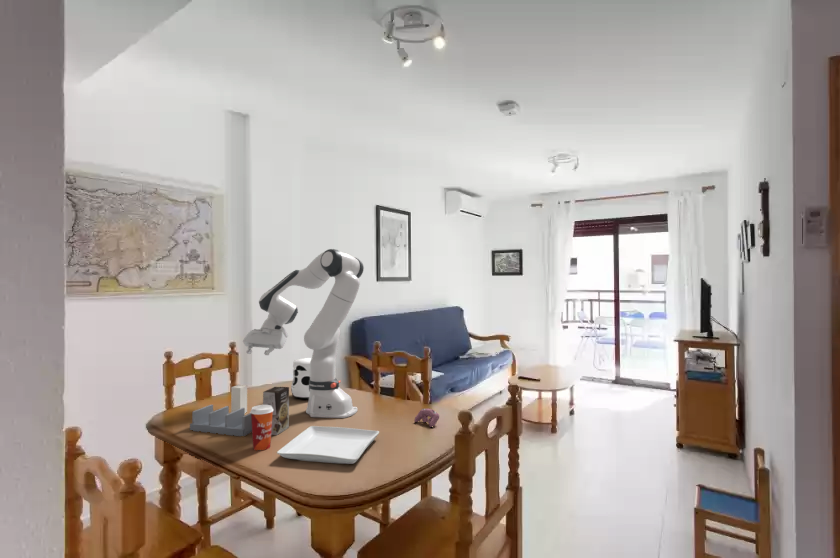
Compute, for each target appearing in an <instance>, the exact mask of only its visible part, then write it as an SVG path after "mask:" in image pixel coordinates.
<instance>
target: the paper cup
mask: <svg viewBox="0 0 840 558" xmlns="http://www.w3.org/2000/svg"><path fill="white" fill-rule="evenodd" d="M273 411H274V410H273V408H272V406H271V405H263V404H258V405H254V406H252V407H251V410H250V411H249V413H251V419H252V432H251V436H252V437H251V438H252V449H253V450H254V451H257V450H261V451H265V450H269V449H270V448H271V441H272V435H271V430H272V414H273Z"/></svg>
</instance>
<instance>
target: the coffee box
mask: <svg viewBox="0 0 840 558" xmlns="http://www.w3.org/2000/svg"><path fill="white" fill-rule="evenodd" d="M262 394H263V395H262V405H271V406H272V408H273V410H274V411H273V414H272V430H271V436H277V435H279V434H281V433H283V432H284V431H286V430H287V429H289V427H290V426H289V425H290V424H289V423H290V387H289V386H274V387H271V388H269V389H267V390H264V391H262Z"/></svg>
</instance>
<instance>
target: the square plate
mask: <svg viewBox="0 0 840 558" xmlns="http://www.w3.org/2000/svg"><path fill="white" fill-rule="evenodd" d="M379 433H380V431H379V430H371V429H362V428H361V429H360V428H352V427H344V426H342V427H341V426H340V427H339V426H319V425H311V426H308V428H306V429H304V430H303V431H302V432H300V433H299V434H298V435H297V436H295V437H294V438H293V439H291V440H290V441H289V442H287V443H286V444H285V445H284V446H282V447H281V448H280V449H279V450H277V452H276V454H277V455H279V456H281V457H283V458H285V459H288V460H289V459H291V460H298V461H305V462H317V463H329V464H337V465H338V464H340V465H341V464H347V465H349V464H351V465H352V464H355V463H356V462H357V461H358V460H359V459H360V457H361V456H362V454H363V453H364V452H365V450H366V449H367V448H368V447H369V446H370V445H371V444H372V443H373V441H374V440H375V439H376V438H377V437H378V436H379Z"/></svg>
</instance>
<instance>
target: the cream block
mask: <svg viewBox="0 0 840 558" xmlns="http://www.w3.org/2000/svg"><path fill="white" fill-rule="evenodd" d="M230 389H231V393H230V394H231V397H230V398H231V400H230V401H231V403H230V404H231V405H230V406H231V407H230V408H231V409H230V411H231V412H233V411H236V410H238V409H240V408H245V413H246V412H247V413H248V385H245V384H237V385H234V386H231V388H230ZM231 412H230V413H231ZM247 413H246V414H247Z"/></svg>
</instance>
